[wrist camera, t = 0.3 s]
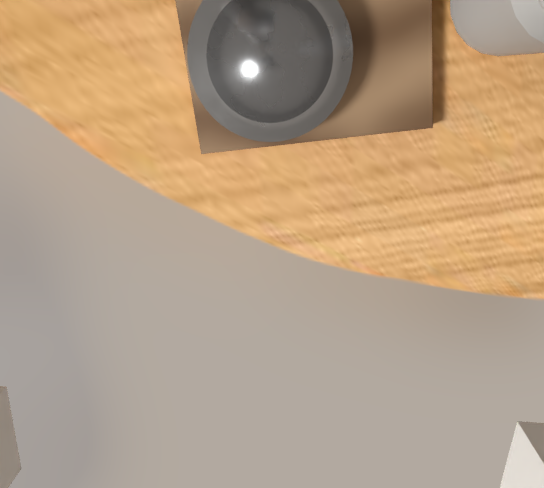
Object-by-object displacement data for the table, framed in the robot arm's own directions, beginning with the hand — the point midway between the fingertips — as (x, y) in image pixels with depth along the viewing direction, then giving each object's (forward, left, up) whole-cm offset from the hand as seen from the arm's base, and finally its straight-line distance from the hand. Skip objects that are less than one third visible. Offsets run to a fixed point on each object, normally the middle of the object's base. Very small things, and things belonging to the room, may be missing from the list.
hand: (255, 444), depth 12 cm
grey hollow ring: (-10, 0, -26) cm, 28 cm away
